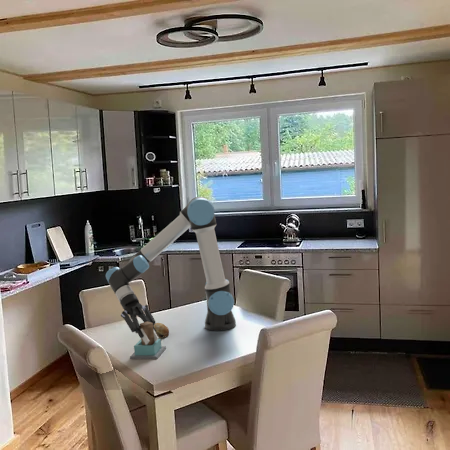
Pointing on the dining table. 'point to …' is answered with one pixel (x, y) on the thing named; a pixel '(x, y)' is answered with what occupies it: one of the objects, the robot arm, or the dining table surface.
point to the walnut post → (148, 332)
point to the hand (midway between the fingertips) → (152, 341)
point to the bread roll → (161, 330)
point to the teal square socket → (148, 350)
